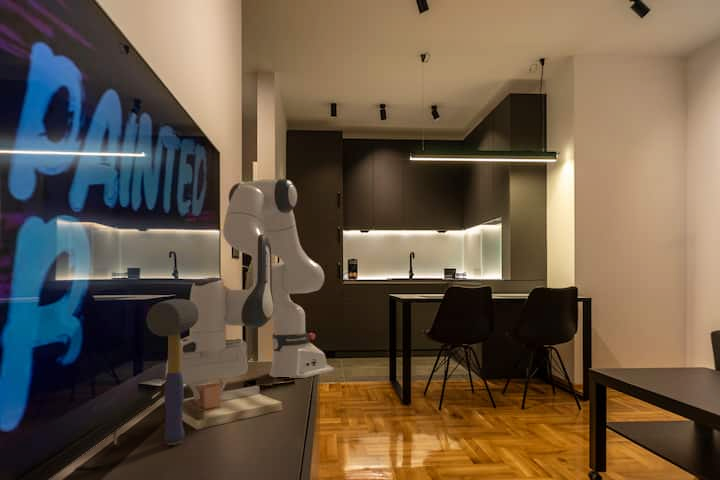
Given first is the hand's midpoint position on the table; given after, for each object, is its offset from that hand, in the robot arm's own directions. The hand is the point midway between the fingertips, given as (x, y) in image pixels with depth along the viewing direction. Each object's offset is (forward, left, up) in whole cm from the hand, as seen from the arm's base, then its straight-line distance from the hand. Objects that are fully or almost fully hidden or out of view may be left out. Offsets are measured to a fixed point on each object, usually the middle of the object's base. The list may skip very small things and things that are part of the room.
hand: (208, 397), depth 121 cm
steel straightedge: (-5, -4, -2) cm, 6 cm away
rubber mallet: (+13, +15, -4) cm, 21 cm away
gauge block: (0, 0, -2) cm, 2 cm away
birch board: (-5, +2, -4) cm, 7 cm away
